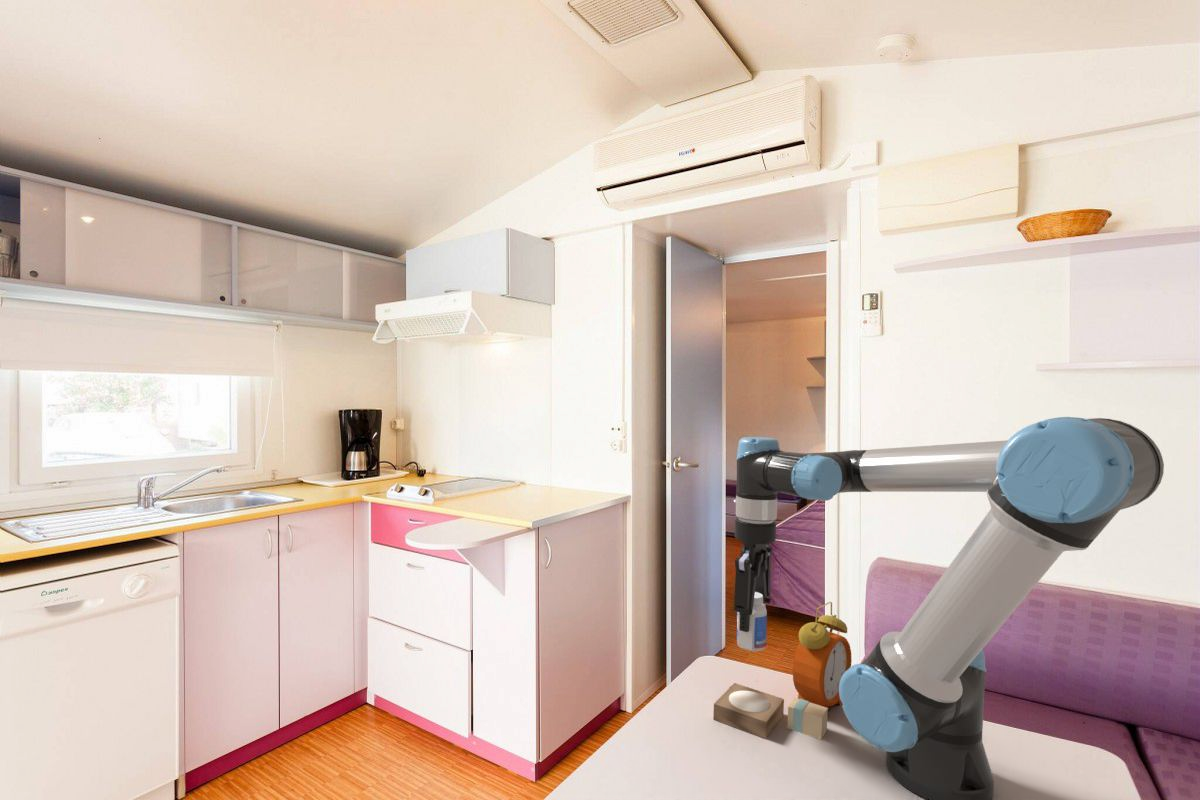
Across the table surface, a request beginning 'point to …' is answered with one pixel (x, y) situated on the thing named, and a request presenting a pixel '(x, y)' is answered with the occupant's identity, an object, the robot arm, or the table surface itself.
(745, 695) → the podium
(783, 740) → the table surface
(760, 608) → the pill bottle
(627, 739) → the table surface
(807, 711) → the carton
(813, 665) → the alarm clock
